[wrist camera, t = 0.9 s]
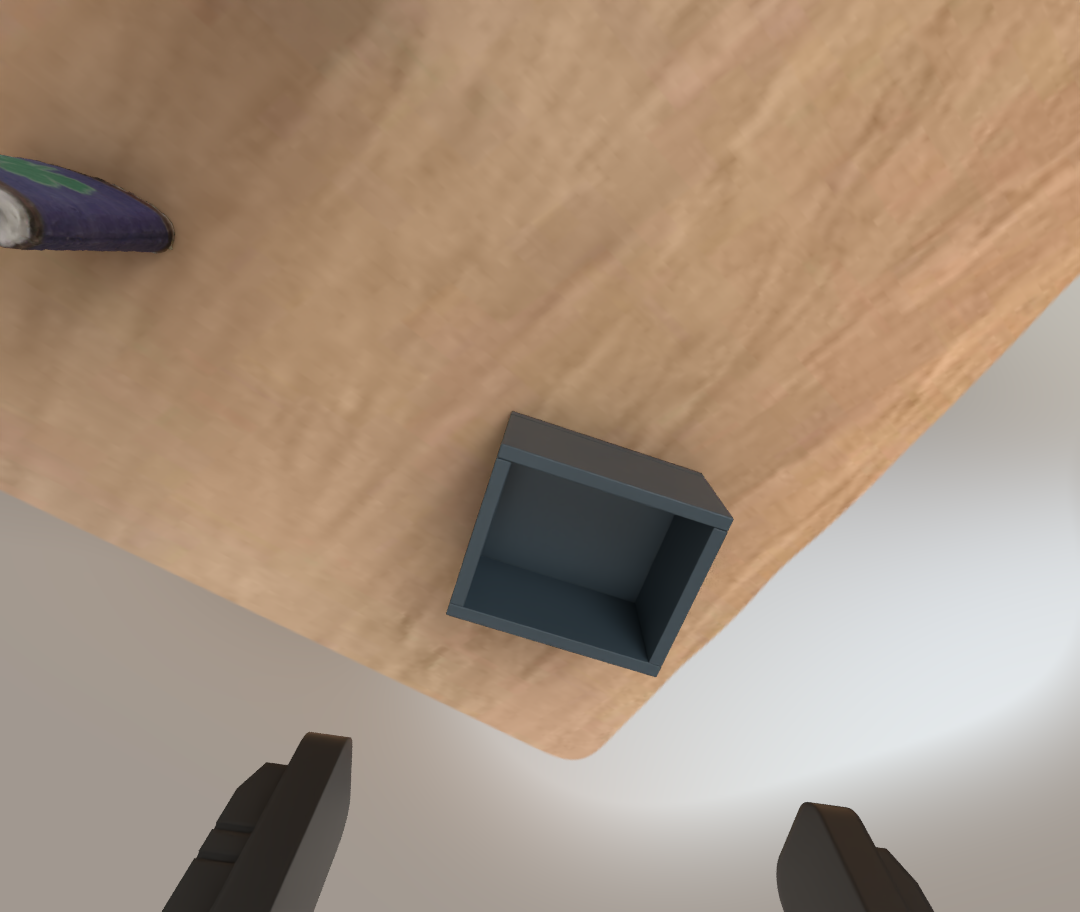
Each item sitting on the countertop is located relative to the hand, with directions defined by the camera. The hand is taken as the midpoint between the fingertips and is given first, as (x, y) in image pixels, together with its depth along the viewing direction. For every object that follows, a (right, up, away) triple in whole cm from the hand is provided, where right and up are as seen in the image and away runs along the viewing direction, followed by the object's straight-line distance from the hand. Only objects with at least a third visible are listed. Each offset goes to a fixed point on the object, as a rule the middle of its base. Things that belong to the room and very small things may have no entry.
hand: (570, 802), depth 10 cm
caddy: (+2, +2, +26) cm, 26 cm away
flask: (-25, +20, +21) cm, 39 cm away
